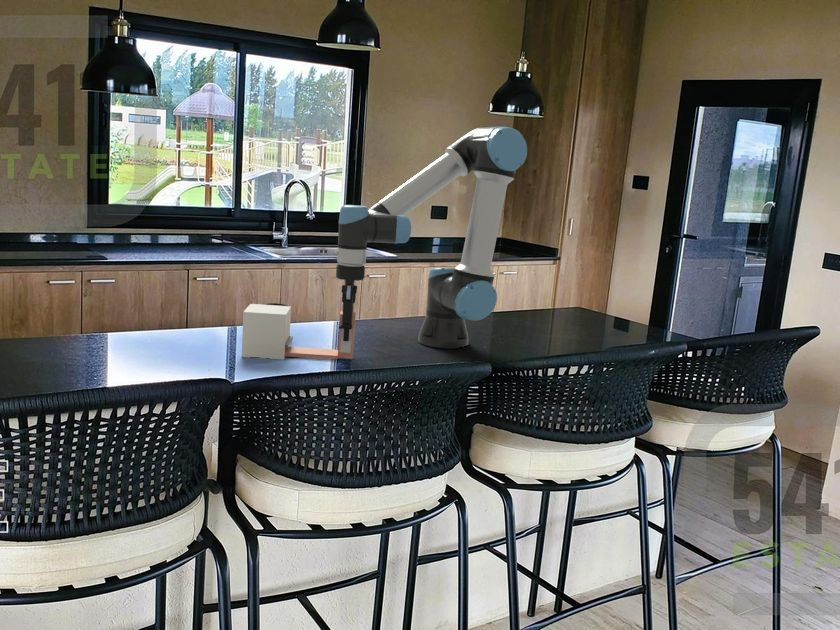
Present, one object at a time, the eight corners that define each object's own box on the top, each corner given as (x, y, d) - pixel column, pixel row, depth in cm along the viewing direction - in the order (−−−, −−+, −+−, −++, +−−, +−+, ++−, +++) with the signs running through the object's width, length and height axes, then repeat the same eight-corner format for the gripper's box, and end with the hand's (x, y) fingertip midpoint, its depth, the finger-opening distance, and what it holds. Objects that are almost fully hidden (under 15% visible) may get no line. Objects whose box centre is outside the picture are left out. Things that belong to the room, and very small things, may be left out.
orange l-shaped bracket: (353, 354, 231) (355, 311, 229) (352, 360, 224) (354, 316, 222) (285, 350, 230) (287, 306, 228) (282, 356, 223) (284, 311, 221)
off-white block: (292, 349, 233) (294, 306, 230) (287, 359, 221) (289, 314, 219) (248, 346, 232) (250, 303, 230) (241, 357, 220) (243, 311, 218)
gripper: (338, 259, 231) (333, 342, 235) (334, 267, 214) (329, 356, 218) (365, 261, 231) (360, 344, 236) (364, 269, 215) (358, 358, 219)
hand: (345, 350), depth 227 cm, fingers closed on orange l-shaped bracket, 4 cm apart
